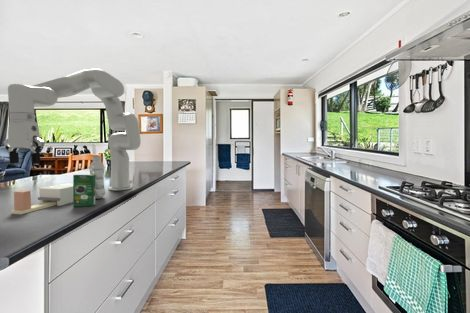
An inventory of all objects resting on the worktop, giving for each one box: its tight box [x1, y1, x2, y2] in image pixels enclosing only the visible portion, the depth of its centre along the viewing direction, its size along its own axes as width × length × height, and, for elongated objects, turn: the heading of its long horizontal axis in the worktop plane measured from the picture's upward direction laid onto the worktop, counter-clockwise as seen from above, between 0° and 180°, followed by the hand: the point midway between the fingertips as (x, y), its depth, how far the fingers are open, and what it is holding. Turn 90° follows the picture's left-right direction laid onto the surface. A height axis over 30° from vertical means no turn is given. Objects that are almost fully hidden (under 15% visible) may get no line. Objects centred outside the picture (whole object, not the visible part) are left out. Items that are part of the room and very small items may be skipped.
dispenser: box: [37, 182, 73, 207], centre depth 121 cm, size 15×10×7 cm
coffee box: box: [72, 174, 96, 208], centre depth 113 cm, size 8×3×13 cm, turn 102°
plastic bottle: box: [88, 155, 106, 200], centre depth 128 cm, size 6×7×20 cm
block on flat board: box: [11, 190, 57, 215], centre depth 109 cm, size 19×4×8 cm, turn 169°
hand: (25, 163), depth 104 cm, fingers open, 9 cm apart
